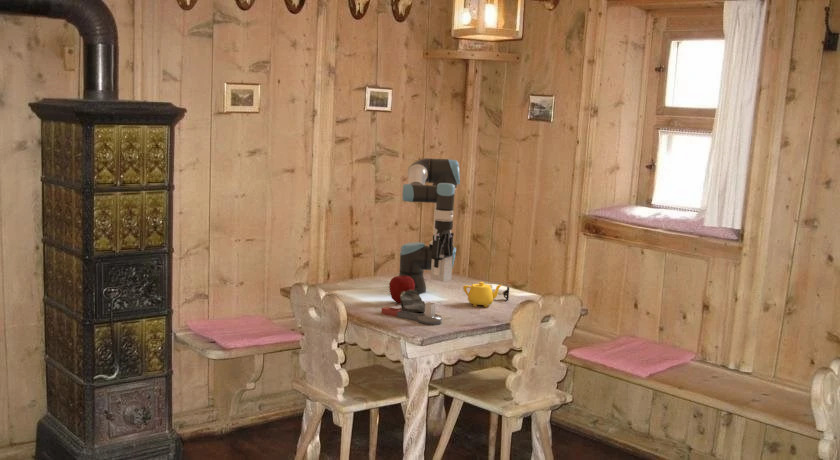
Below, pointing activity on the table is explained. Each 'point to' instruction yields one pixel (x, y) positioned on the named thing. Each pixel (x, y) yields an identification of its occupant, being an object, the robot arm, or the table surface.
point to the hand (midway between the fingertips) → (441, 273)
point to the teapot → (481, 294)
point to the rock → (412, 301)
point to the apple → (400, 286)
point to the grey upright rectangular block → (443, 269)
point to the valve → (505, 293)
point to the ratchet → (416, 314)
